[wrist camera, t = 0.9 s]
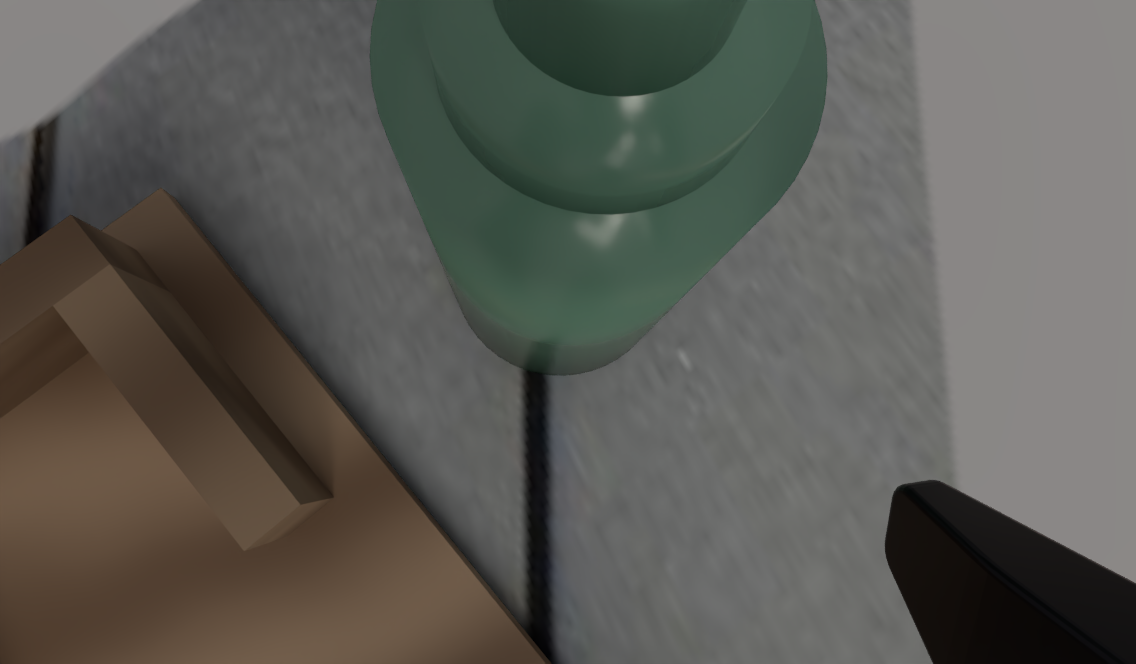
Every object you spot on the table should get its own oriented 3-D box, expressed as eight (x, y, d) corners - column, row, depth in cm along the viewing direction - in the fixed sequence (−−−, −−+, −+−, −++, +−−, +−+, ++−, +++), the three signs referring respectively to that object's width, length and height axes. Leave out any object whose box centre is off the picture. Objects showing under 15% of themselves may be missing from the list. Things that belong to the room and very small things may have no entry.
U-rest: (577, 696, 20) (589, 751, 16) (124, 1114, 18) (19, 1286, 14) (174, 197, 22) (100, 143, 18) (-287, 531, 20) (-480, 549, 16)
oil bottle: (706, 284, 22) (1508, -465, 4) (546, 420, 21) (674, 222, 3) (571, 130, 23) (757, -1134, 5) (410, 256, 22) (-133, -697, 4)
